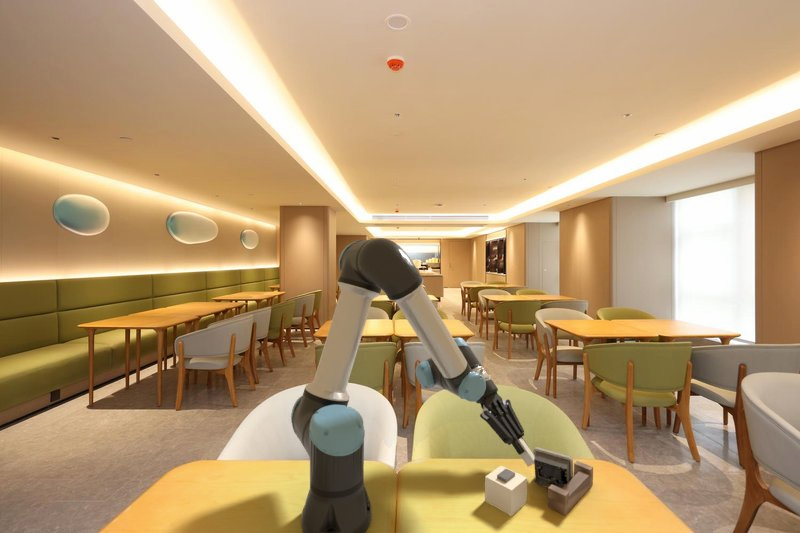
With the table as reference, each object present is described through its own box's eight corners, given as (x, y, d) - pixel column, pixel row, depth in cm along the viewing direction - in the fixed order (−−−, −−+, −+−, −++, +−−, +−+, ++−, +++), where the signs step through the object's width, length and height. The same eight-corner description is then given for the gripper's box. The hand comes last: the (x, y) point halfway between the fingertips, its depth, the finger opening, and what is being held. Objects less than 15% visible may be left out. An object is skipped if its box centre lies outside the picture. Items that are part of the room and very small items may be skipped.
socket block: (484, 501, 88) (485, 473, 88) (500, 489, 93) (501, 462, 92) (511, 516, 83) (511, 486, 83) (526, 502, 87) (527, 474, 87)
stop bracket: (547, 506, 86) (548, 487, 86) (576, 477, 97) (577, 460, 97) (565, 515, 83) (565, 495, 83) (592, 484, 95) (593, 466, 94)
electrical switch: (574, 488, 93) (574, 453, 92) (570, 501, 89) (570, 464, 88) (535, 475, 98) (535, 442, 97) (530, 487, 94) (530, 453, 93)
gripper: (474, 383, 103) (530, 467, 91) (500, 373, 112) (553, 449, 100) (459, 397, 107) (510, 479, 95) (485, 386, 116) (534, 460, 104)
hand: (532, 463), depth 97 cm, fingers closed
